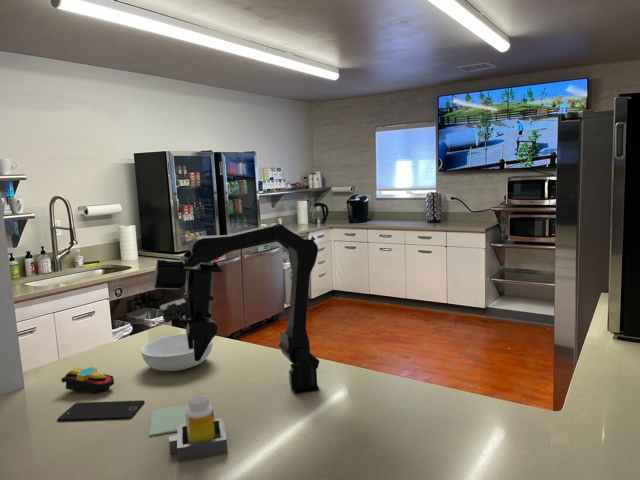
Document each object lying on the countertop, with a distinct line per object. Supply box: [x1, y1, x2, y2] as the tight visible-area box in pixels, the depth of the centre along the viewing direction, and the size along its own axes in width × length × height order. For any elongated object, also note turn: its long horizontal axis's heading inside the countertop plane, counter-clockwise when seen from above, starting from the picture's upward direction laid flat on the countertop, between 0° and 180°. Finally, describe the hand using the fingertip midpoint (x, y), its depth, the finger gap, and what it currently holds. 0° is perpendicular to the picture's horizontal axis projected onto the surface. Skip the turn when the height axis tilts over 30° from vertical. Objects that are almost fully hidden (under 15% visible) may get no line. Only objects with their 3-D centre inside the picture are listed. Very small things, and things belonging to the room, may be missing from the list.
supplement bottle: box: [186, 394, 216, 444], centre depth 100 cm, size 6×6×10 cm
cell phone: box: [56, 399, 145, 423], centre depth 119 cm, size 9×18×1 cm, turn 89°
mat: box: [148, 404, 189, 437], centre depth 113 cm, size 12×12×1 cm
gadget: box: [61, 366, 115, 395], centre depth 131 cm, size 6×13×6 cm, turn 79°
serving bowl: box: [140, 333, 214, 372], centre depth 147 cm, size 21×21×7 cm
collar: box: [168, 417, 228, 463], centre depth 101 cm, size 11×10×3 cm
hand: (193, 354), depth 115 cm, fingers open, 9 cm apart
